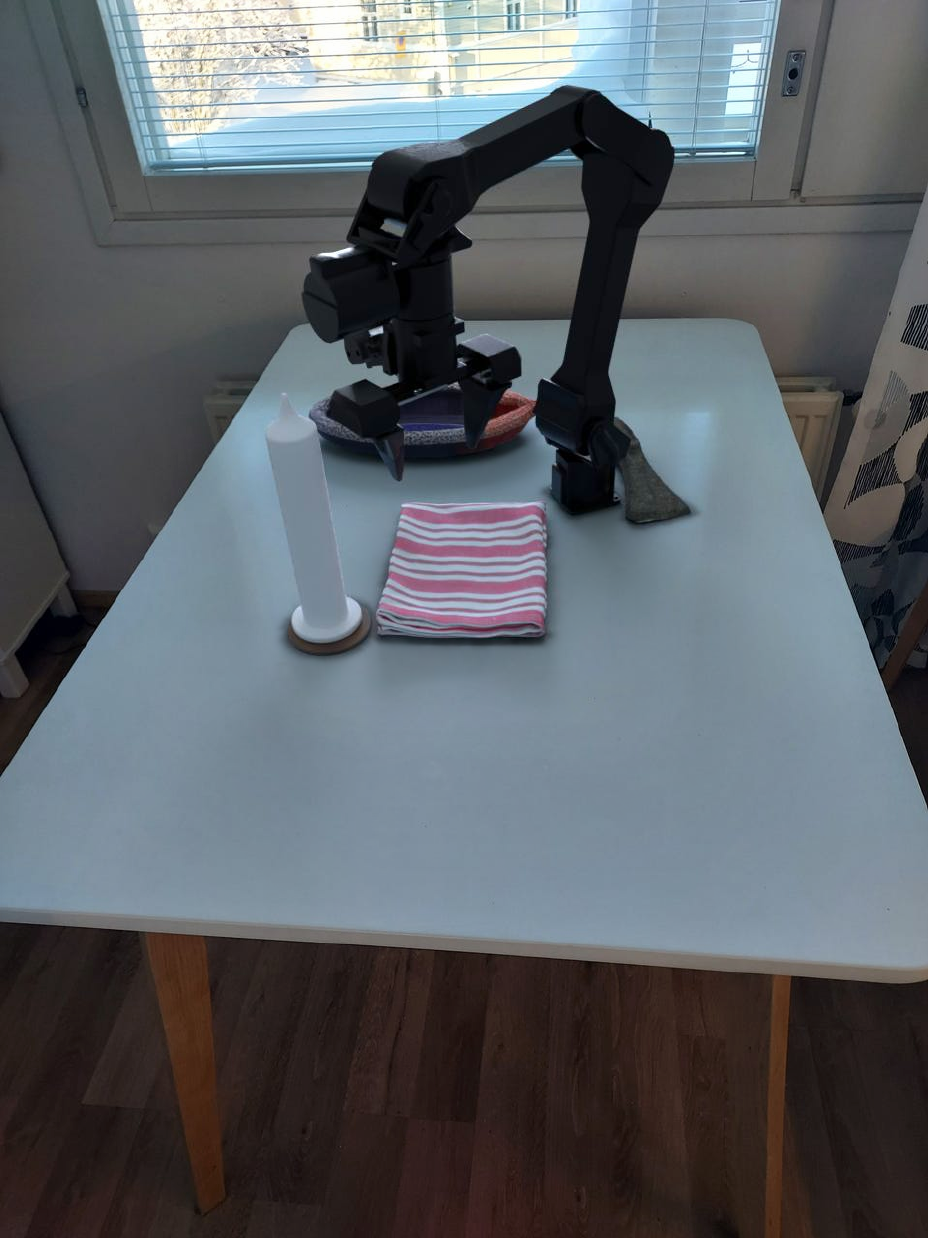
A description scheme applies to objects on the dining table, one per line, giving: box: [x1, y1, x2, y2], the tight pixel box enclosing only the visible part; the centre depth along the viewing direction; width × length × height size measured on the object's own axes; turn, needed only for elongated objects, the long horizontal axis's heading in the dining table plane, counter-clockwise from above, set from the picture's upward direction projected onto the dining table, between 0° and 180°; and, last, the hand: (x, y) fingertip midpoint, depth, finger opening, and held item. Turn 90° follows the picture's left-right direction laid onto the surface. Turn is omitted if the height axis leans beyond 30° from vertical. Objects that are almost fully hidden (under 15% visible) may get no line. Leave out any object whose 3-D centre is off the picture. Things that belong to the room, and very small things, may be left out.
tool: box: [614, 416, 692, 524], centre depth 112 cm, size 21×8×3 cm, turn 13°
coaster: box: [287, 602, 372, 656], centre depth 94 cm, size 8×8×1 cm
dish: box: [308, 382, 537, 459], centre depth 121 cm, size 16×31×5 cm, turn 84°
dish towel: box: [375, 500, 548, 639], centre depth 98 cm, size 17×23×4 cm
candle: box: [264, 392, 362, 643], centre depth 86 cm, size 7×7×25 cm
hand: (435, 462), depth 92 cm, fingers open, 9 cm apart
